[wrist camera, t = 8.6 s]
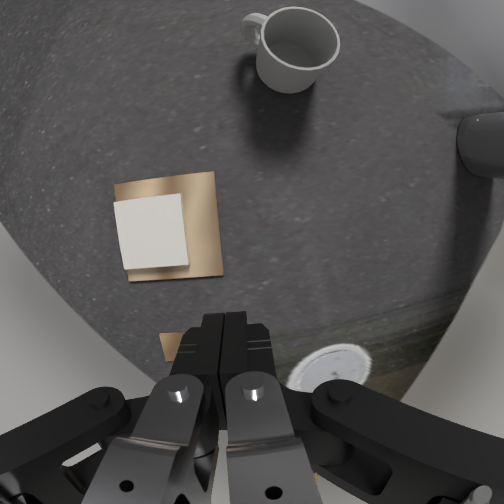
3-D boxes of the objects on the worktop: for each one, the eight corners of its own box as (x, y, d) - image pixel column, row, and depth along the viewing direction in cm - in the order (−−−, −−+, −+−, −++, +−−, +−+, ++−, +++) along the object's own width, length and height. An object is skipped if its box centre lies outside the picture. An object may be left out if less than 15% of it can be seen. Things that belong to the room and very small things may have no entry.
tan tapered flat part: (257, 327, 37) (257, 332, 36) (259, 354, 39) (259, 359, 37) (160, 332, 37) (158, 337, 36) (166, 359, 38) (165, 364, 37)
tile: (180, 193, 31) (113, 202, 30) (188, 264, 33) (124, 269, 33) (182, 192, 32) (118, 201, 32) (190, 261, 34) (128, 265, 34)
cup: (294, 106, 30) (313, 85, 22) (223, 60, 28) (218, 27, 20) (327, 65, 29) (353, 37, 20) (259, 21, 27) (265, -18, 18)
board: (214, 171, 32) (213, 171, 31) (223, 273, 35) (223, 275, 35) (115, 184, 32) (114, 184, 31) (130, 280, 35) (129, 281, 34)
